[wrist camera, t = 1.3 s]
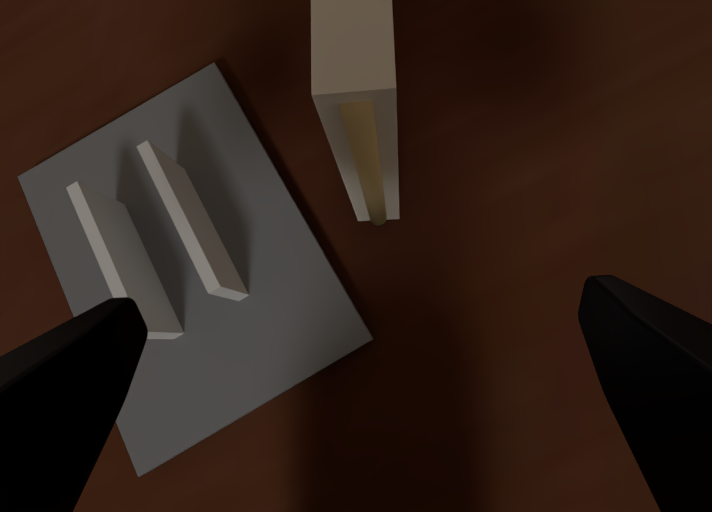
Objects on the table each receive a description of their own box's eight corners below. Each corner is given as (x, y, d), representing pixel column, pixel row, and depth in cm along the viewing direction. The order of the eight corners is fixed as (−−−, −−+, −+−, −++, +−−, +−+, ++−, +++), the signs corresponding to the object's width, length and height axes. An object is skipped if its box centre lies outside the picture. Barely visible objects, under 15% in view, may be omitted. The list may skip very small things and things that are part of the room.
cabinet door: (400, 227, 22) (397, 103, 11) (358, 229, 23) (311, 111, 11) (394, 113, 24) (386, -107, 12) (355, 116, 24) (310, -97, 12)
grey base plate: (373, 339, 22) (366, 338, 17) (150, 470, 21) (85, 504, 17) (221, 72, 25) (183, 17, 21) (32, 183, 25) (-45, 150, 21)
